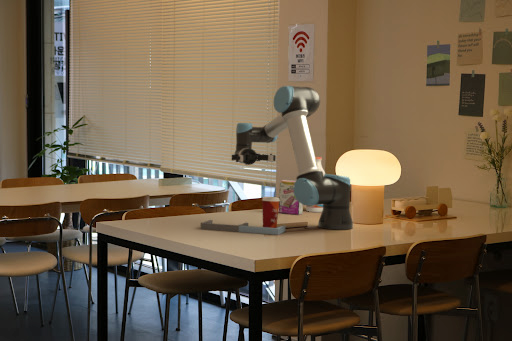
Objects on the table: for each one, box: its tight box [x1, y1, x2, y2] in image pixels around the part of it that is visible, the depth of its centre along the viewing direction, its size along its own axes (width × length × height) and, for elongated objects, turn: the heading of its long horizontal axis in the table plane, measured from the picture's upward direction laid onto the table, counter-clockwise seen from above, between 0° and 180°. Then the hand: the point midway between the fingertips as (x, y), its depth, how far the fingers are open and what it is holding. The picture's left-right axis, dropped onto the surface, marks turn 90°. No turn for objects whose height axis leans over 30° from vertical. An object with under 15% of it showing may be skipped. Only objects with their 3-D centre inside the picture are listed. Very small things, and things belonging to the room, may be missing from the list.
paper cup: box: [261, 196, 280, 228], centre depth 311 cm, size 8×8×14 cm
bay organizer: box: [200, 219, 286, 236], centre depth 311 cm, size 34×11×2 cm, turn 72°
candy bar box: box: [278, 179, 304, 216], centre depth 368 cm, size 11×5×16 cm, turn 62°
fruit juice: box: [305, 156, 326, 213], centre depth 379 cm, size 9×9×28 cm
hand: (257, 158), depth 327 cm, fingers open, 13 cm apart
